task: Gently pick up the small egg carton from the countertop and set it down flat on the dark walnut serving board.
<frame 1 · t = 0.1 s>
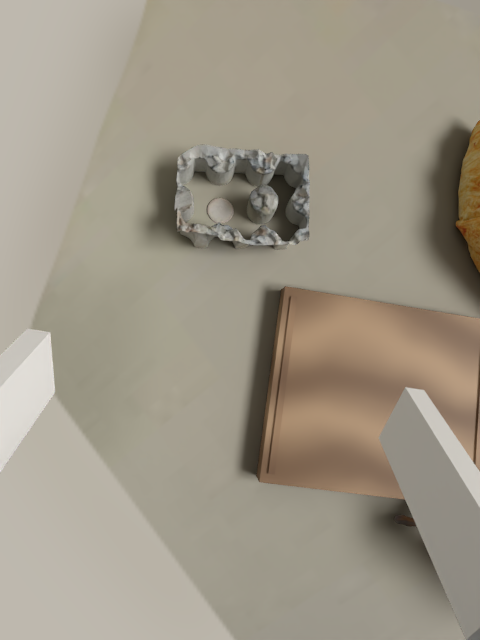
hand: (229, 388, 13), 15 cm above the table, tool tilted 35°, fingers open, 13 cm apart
walnut board: (374, 395, 30), on the table
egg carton: (239, 211, 31), on the table
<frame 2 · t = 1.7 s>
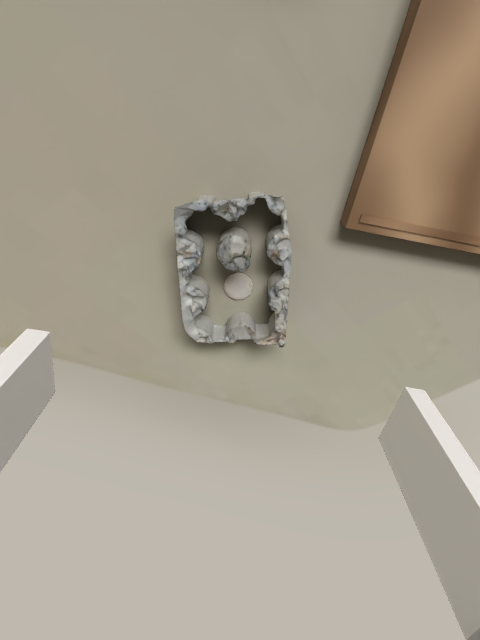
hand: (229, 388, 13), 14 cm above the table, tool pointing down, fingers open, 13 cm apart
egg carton: (234, 263, 27), on the table
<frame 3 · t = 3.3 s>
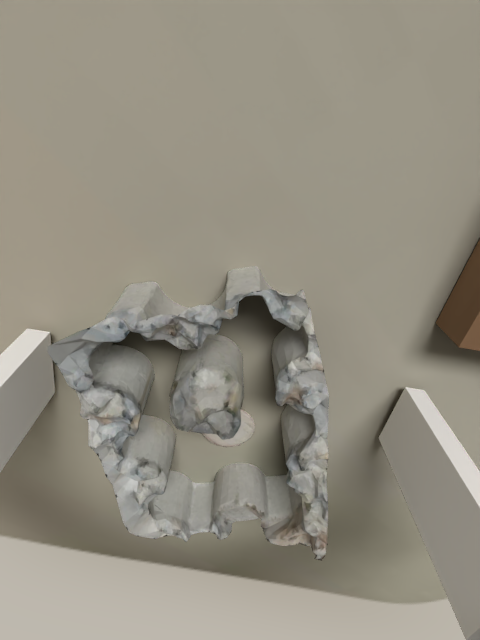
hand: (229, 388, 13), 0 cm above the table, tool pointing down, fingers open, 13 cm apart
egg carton: (216, 388, 14), on the table
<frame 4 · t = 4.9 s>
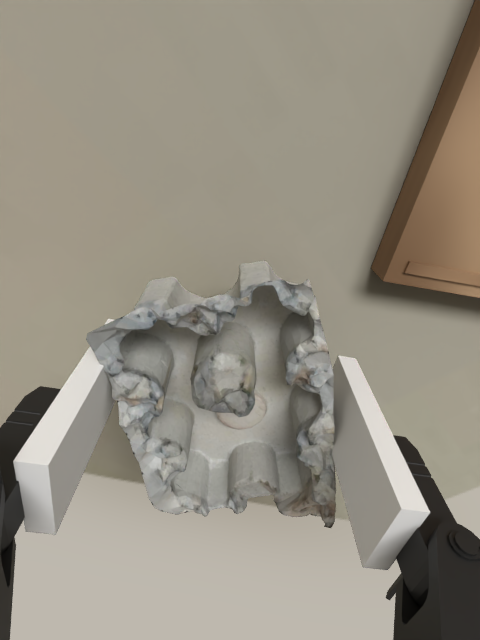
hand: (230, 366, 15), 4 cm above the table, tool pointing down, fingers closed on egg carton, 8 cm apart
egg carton: (229, 375, 16), point 3 cm above the table, touching gripper
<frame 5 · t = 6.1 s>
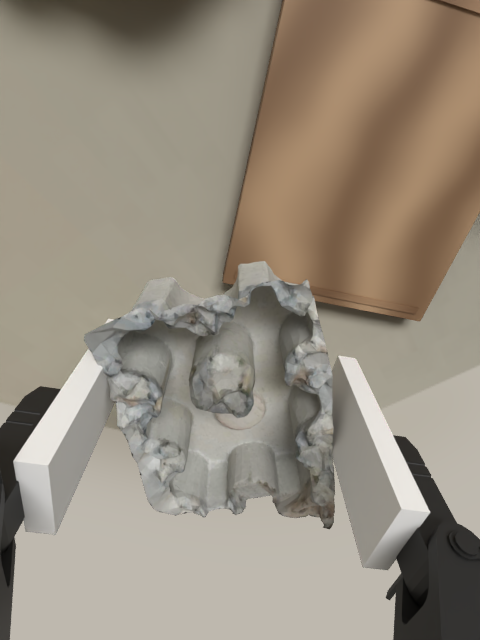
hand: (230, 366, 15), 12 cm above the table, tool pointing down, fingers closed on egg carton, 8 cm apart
walnut board: (367, 168, 23), on the table
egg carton: (228, 375, 16), point 12 cm above the table, touching gripper
when the fingers open (2 cm above the table, at t = 8.8 s): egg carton stays where it is, resting on walnut board.
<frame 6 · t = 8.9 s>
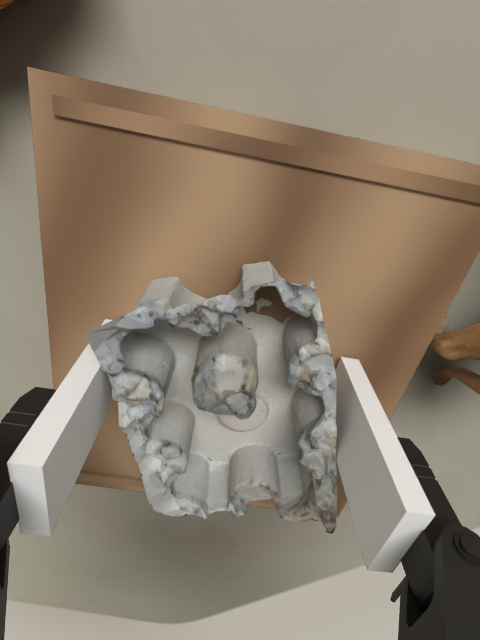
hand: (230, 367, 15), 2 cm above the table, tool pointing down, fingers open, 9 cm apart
walnut board: (234, 346, 16), on the table
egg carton: (231, 376, 15), point 1 cm above the table, touching walnut board
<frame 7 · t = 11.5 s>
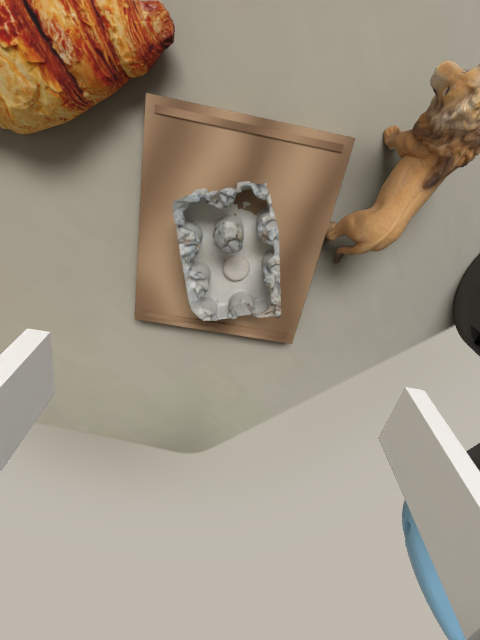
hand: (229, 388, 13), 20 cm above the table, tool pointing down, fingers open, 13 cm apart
croissant: (27, 47, 25), on the table
walnut board: (231, 234, 31), on the table
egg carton: (230, 248, 30), point 1 cm above the table, touching walnut board
lion figurine: (377, 171, 28), on the table
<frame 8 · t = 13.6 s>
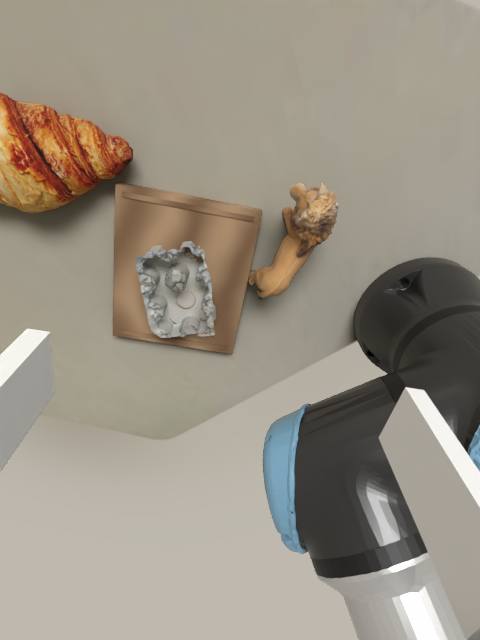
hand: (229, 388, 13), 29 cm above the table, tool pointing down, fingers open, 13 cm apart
croissant: (35, 154, 36), on the table
walnut board: (182, 274, 42), on the table
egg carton: (181, 285, 41), point 1 cm above the table, touching walnut board
lion figurine: (282, 235, 40), on the table
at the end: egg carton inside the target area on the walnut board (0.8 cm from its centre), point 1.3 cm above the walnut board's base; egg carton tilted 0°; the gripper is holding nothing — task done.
